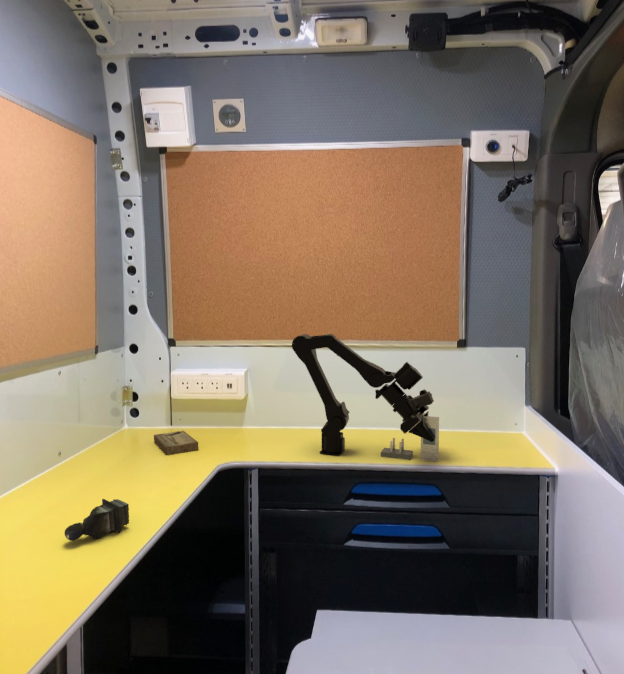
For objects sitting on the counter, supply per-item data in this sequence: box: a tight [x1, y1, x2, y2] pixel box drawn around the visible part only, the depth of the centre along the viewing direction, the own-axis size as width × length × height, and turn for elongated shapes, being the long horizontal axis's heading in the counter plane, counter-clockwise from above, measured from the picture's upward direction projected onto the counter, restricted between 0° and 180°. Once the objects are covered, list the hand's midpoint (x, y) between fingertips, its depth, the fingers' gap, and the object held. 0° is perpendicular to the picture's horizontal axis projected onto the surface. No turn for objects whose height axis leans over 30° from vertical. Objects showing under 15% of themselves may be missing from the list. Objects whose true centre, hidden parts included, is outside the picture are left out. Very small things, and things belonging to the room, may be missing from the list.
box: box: [153, 430, 199, 456], centre depth 179 cm, size 11×17×3 cm, turn 29°
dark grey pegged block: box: [380, 437, 414, 461], centre depth 167 cm, size 9×5×5 cm, turn 70°
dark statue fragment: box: [64, 498, 130, 542], centre depth 114 cm, size 6×13×6 cm, turn 147°
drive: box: [420, 415, 440, 463], centre depth 163 cm, size 5×2×13 cm, turn 70°
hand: (434, 438), depth 163 cm, fingers open, 5 cm apart
